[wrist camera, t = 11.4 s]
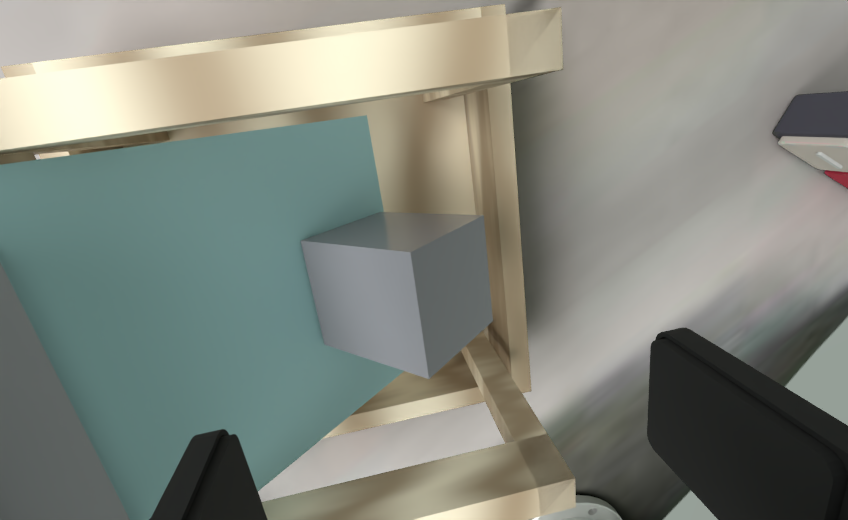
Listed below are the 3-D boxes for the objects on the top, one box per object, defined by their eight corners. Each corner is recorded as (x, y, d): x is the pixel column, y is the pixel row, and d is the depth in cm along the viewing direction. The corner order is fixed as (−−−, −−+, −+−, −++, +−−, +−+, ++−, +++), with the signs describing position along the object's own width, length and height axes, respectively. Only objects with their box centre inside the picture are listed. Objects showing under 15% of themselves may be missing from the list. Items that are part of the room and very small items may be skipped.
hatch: (352, 117, 21) (414, 107, 18) (398, 361, 25) (452, 379, 23) (-524, 236, 7) (-764, 261, 4) (-71, 728, 11) (-62, 878, 9)
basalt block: (380, 211, 21) (483, 215, 18) (395, 301, 23) (492, 321, 19) (300, 240, 18) (410, 252, 14) (324, 344, 19) (429, 379, 16)
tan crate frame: (471, 30, 26) (641, -104, 10) (500, 345, 33) (626, 532, 18) (86, 80, 23) (-404, 1, 8) (208, 407, 30) (68, 685, 15)
